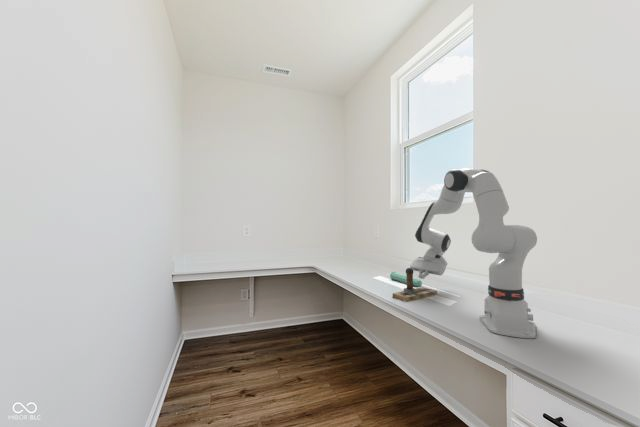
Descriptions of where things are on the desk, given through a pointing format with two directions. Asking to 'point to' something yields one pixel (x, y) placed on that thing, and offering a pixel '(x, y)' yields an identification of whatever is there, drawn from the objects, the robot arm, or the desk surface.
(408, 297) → the wooden base board
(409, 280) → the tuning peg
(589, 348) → the desk surface
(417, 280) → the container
